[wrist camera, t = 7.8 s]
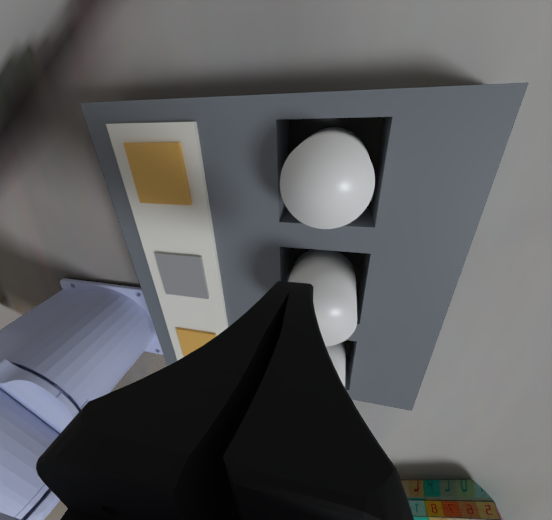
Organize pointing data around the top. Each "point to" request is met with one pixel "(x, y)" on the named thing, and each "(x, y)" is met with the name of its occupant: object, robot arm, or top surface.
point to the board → (291, 232)
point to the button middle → (330, 292)
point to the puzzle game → (449, 500)
